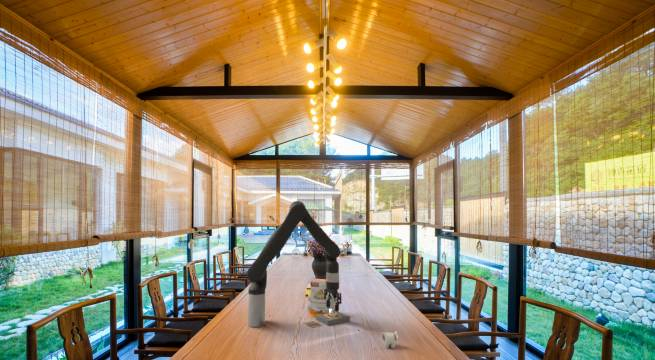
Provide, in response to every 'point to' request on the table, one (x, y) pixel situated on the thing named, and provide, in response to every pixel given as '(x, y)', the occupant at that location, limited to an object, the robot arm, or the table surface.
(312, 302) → the cracker box
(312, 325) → the brown rectangular block
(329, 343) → the table surface
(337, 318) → the hole block
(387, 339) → the elephant figurine
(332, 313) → the steel peg
